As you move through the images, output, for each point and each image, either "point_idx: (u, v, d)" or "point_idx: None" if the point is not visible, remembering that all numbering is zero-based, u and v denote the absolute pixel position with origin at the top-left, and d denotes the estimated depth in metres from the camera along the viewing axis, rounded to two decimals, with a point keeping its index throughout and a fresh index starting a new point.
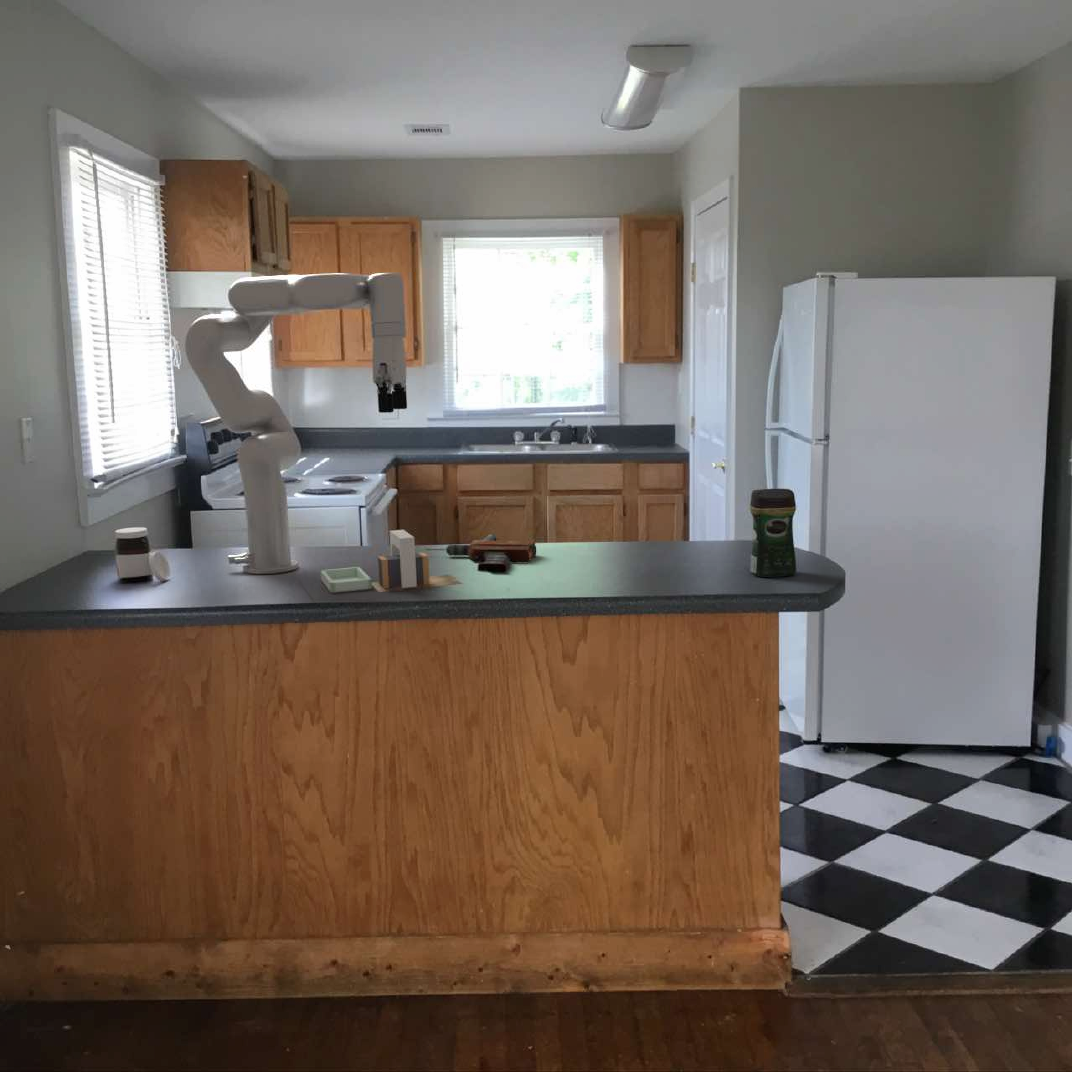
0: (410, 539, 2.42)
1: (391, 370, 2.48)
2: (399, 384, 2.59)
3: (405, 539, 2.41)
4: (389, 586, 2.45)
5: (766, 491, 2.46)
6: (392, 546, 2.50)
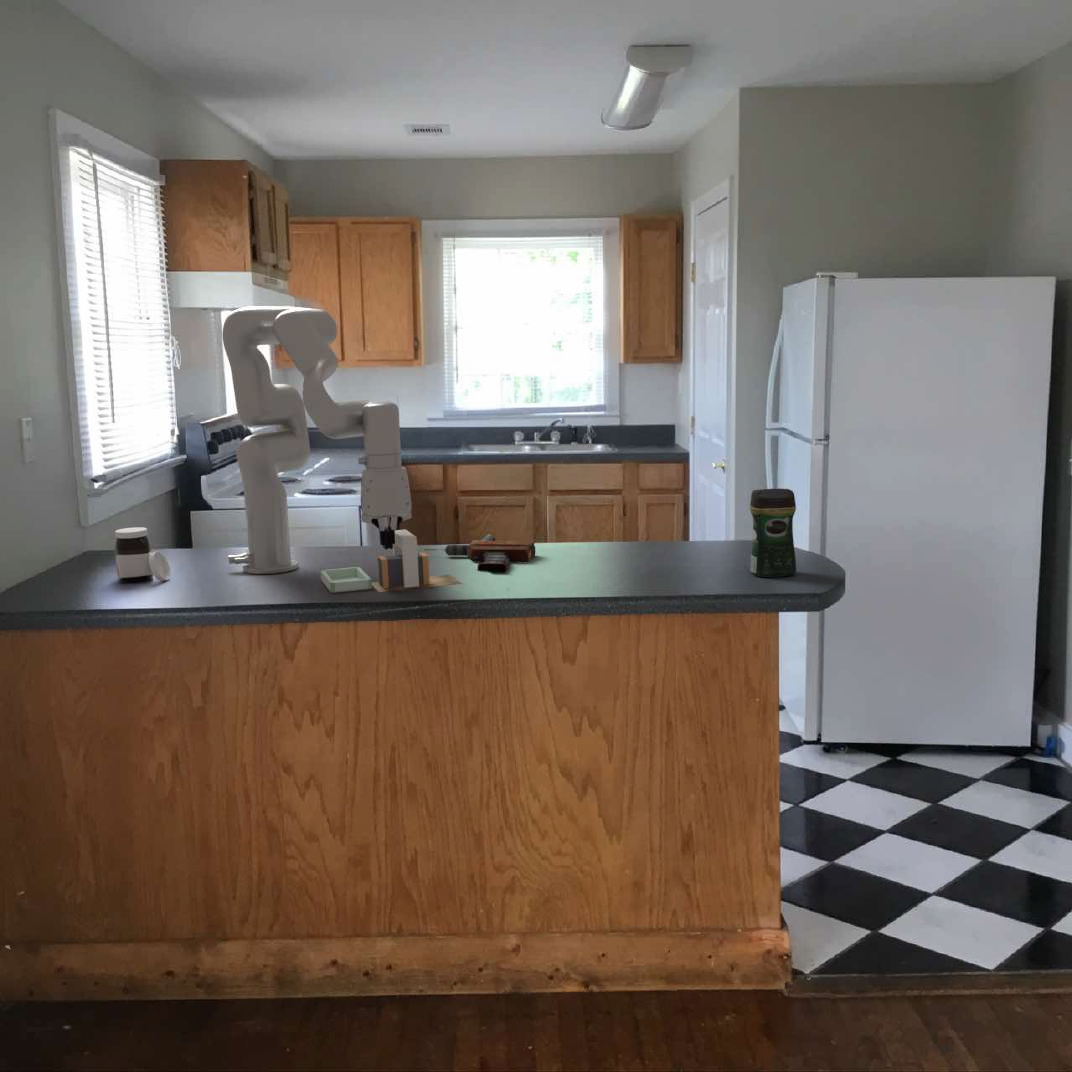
0: (412, 539, 2.42)
1: None
2: None
3: (407, 539, 2.42)
4: (389, 586, 2.45)
5: (766, 491, 2.46)
6: (394, 546, 2.50)
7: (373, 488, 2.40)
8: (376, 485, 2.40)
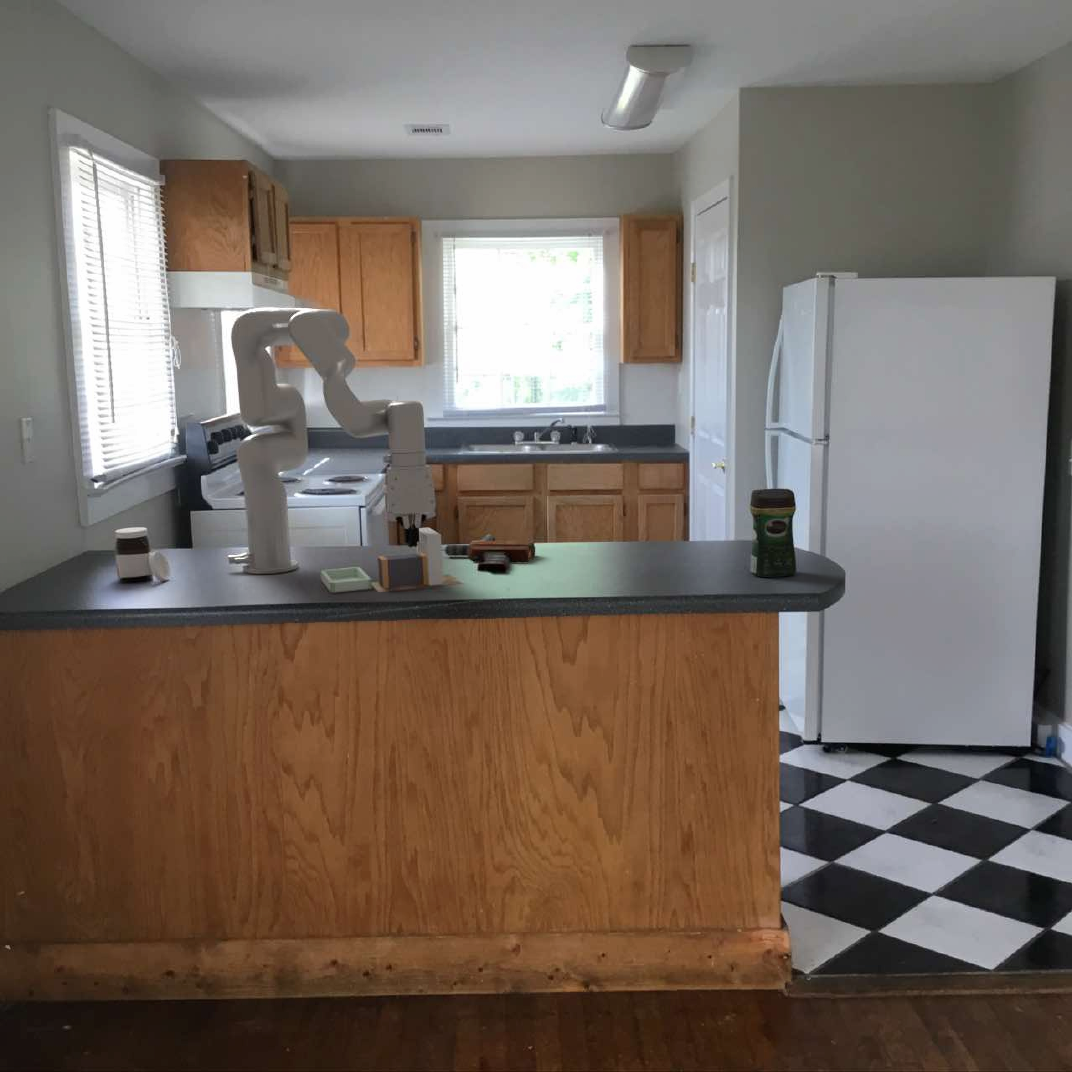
0: (437, 537, 2.44)
1: None
2: None
3: (432, 536, 2.43)
4: (389, 586, 2.45)
5: (766, 491, 2.46)
6: (418, 544, 2.52)
7: (398, 486, 2.42)
8: (401, 483, 2.42)
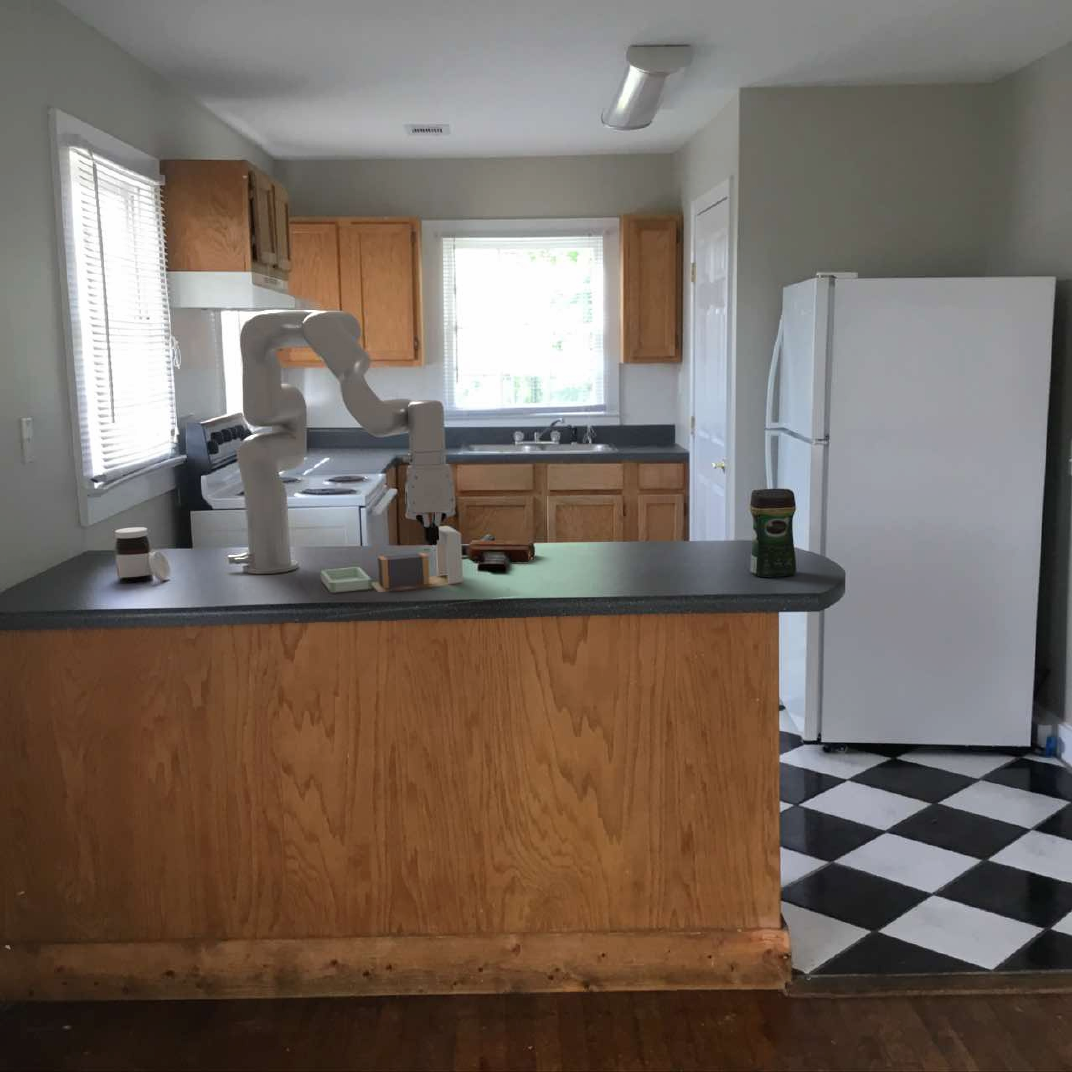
0: (457, 535, 2.45)
1: None
2: None
3: (452, 535, 2.45)
4: (389, 586, 2.45)
5: (766, 491, 2.46)
6: (437, 542, 2.53)
7: (418, 485, 2.43)
8: (422, 482, 2.43)
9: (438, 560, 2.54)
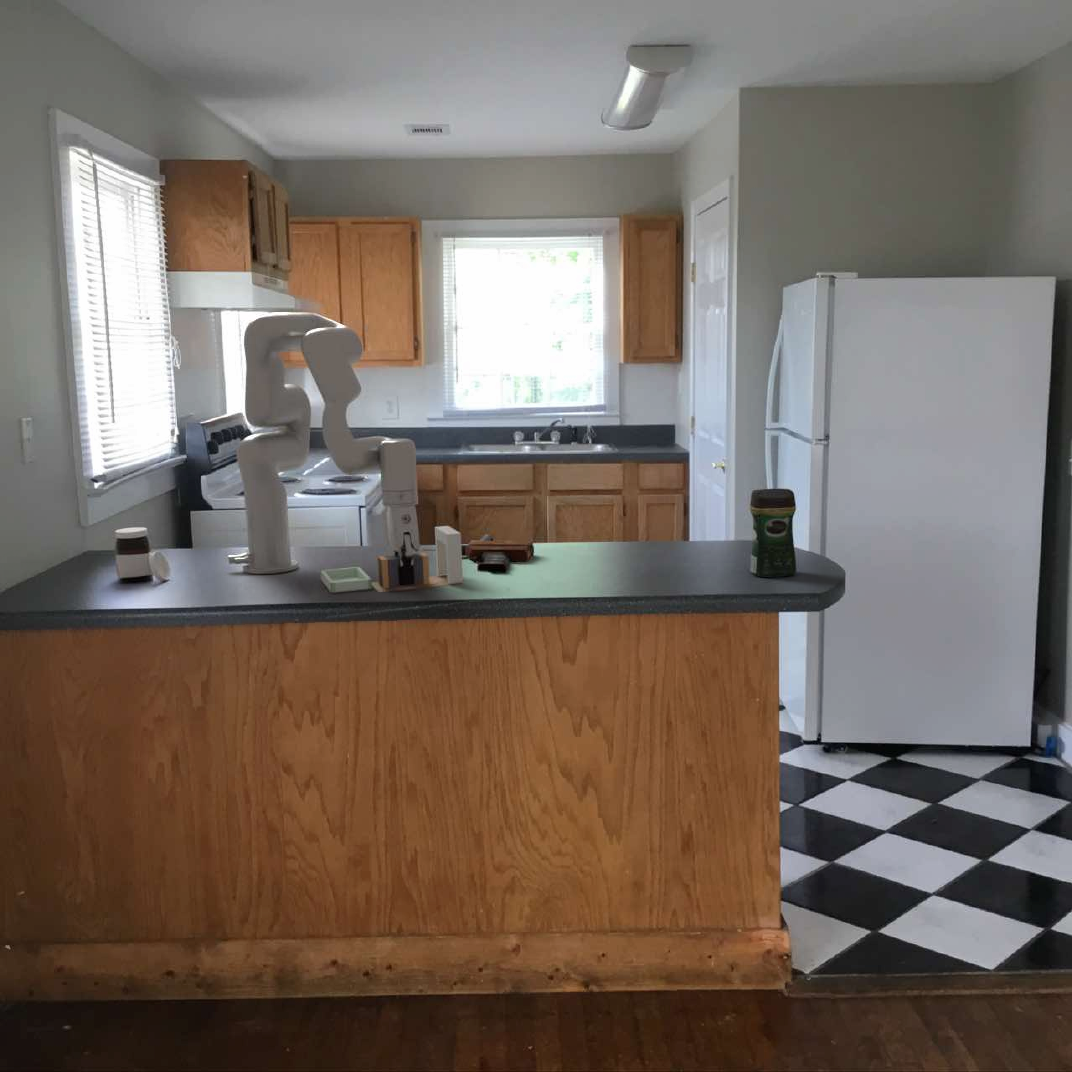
0: (456, 535, 2.45)
1: None
2: None
3: (452, 535, 2.45)
4: (389, 586, 2.45)
5: (766, 491, 2.46)
6: (437, 542, 2.53)
7: None
8: None
9: (438, 560, 2.54)
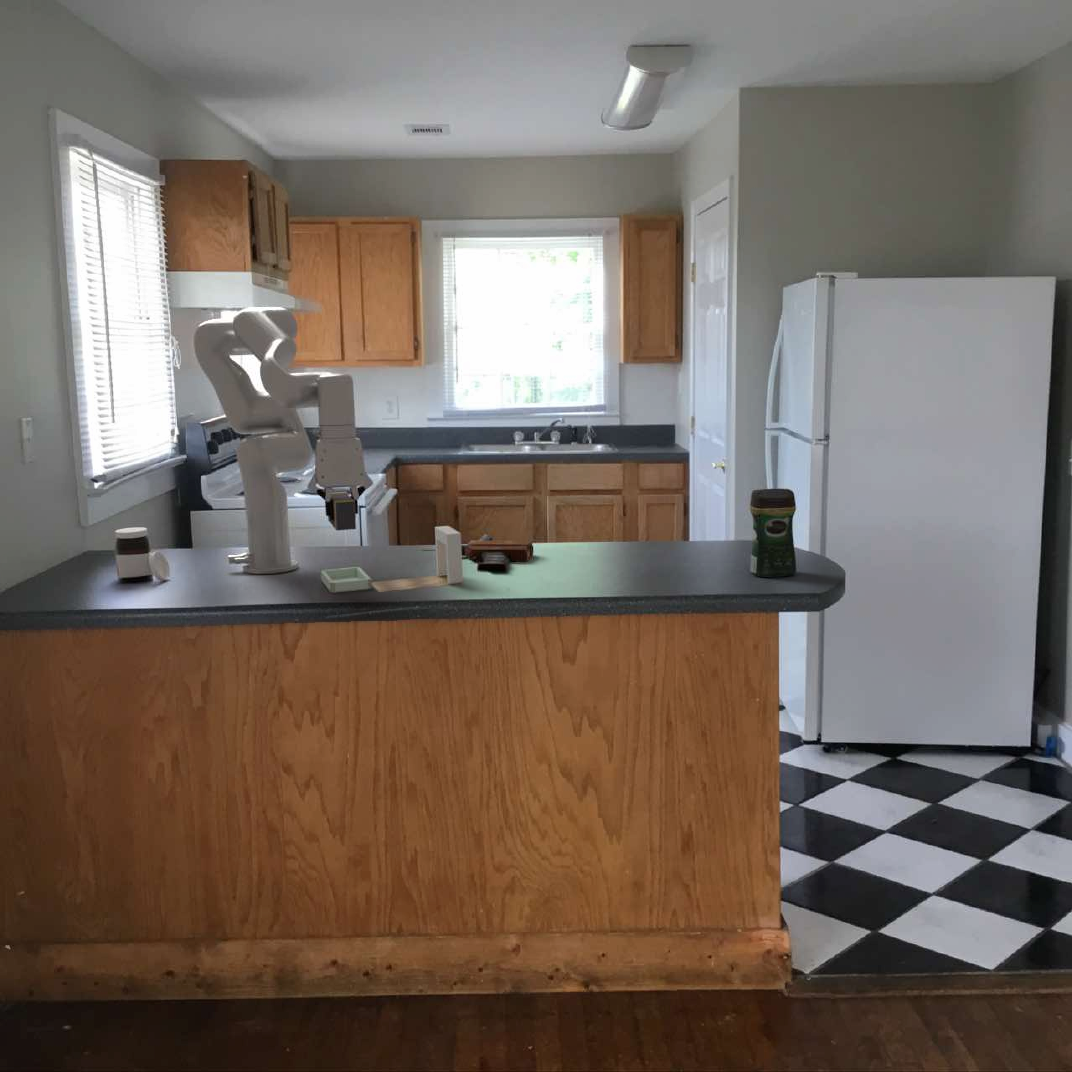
0: (456, 535, 2.45)
1: None
2: None
3: (452, 535, 2.45)
4: (329, 520, 2.51)
5: (766, 491, 2.46)
6: (437, 542, 2.53)
7: (327, 458, 2.42)
8: (330, 456, 2.42)
9: (438, 560, 2.54)
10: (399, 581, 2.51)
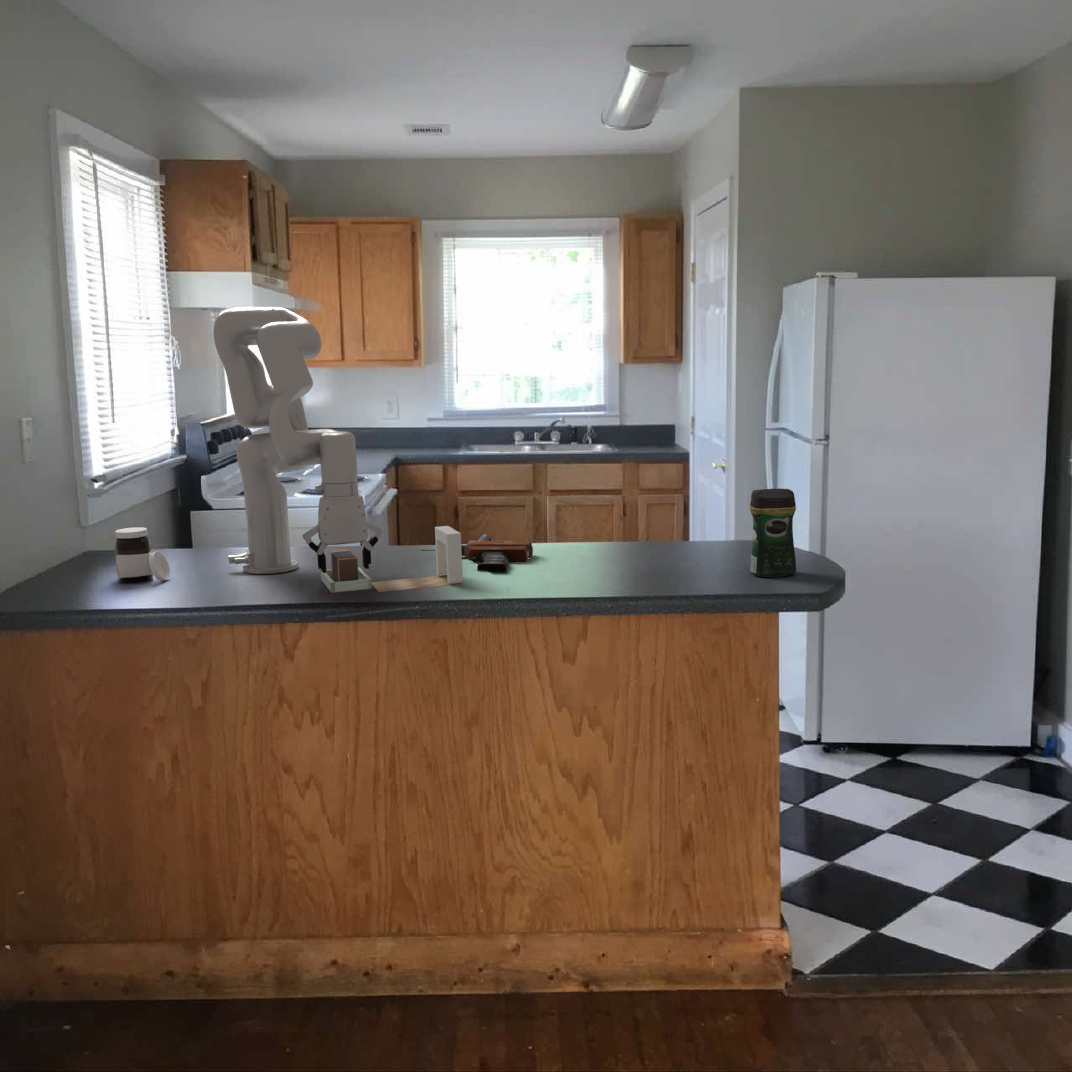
0: (456, 535, 2.45)
1: None
2: (318, 547, 2.47)
3: (452, 535, 2.45)
4: (333, 578, 2.54)
5: (766, 491, 2.46)
6: (437, 542, 2.53)
7: (330, 516, 2.44)
8: (333, 513, 2.44)
9: (438, 560, 2.54)
10: (399, 581, 2.51)
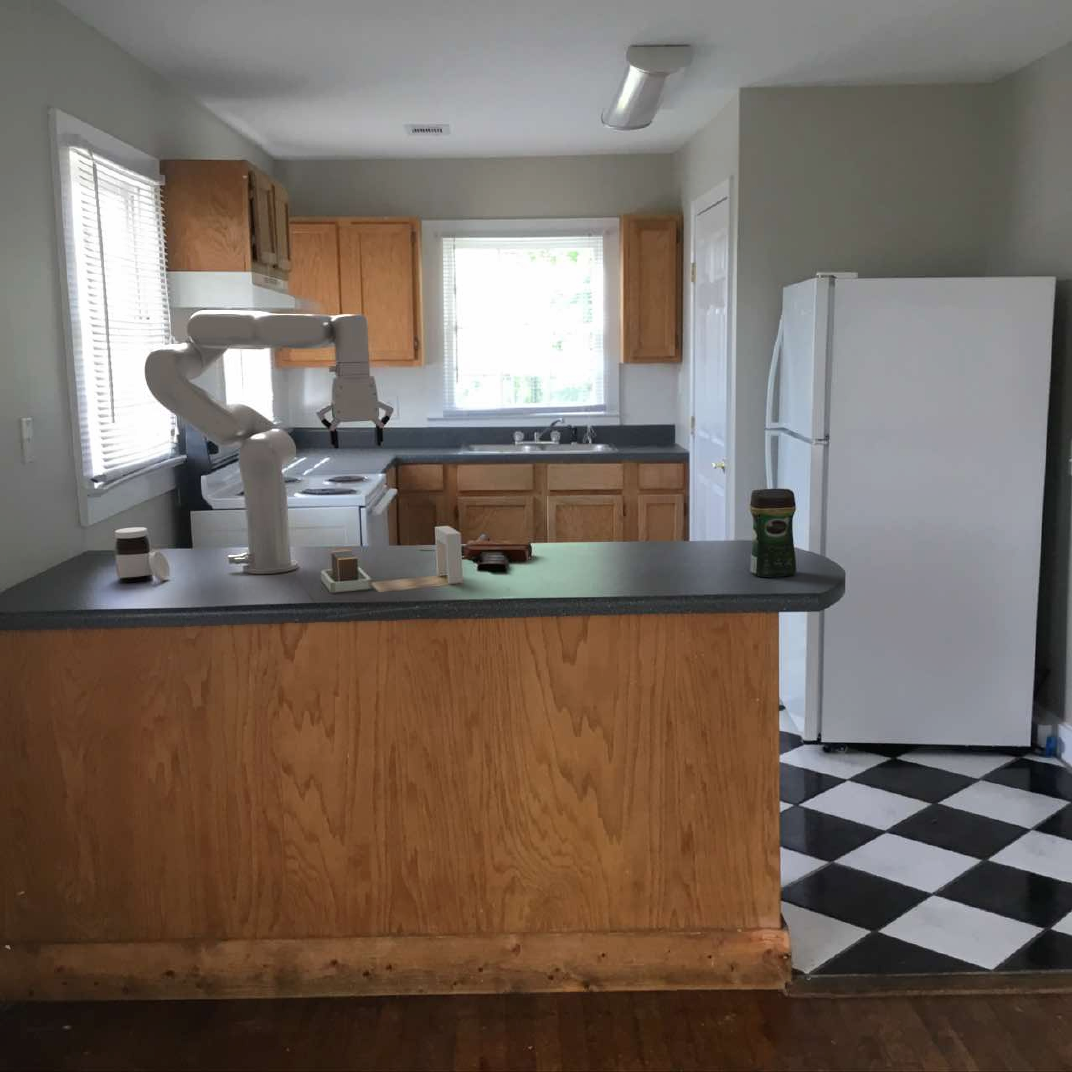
0: (456, 535, 2.45)
1: None
2: (331, 424, 2.60)
3: (452, 535, 2.45)
4: (333, 578, 2.54)
5: (766, 491, 2.46)
6: (437, 542, 2.53)
7: (343, 394, 2.57)
8: (346, 391, 2.57)
9: (438, 560, 2.54)
10: (399, 581, 2.51)
